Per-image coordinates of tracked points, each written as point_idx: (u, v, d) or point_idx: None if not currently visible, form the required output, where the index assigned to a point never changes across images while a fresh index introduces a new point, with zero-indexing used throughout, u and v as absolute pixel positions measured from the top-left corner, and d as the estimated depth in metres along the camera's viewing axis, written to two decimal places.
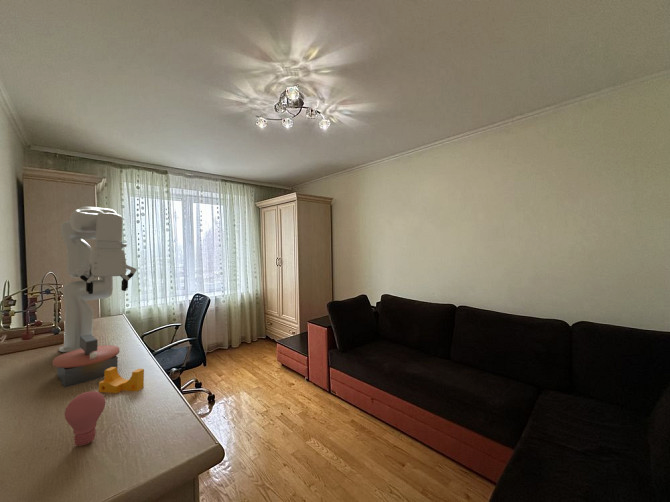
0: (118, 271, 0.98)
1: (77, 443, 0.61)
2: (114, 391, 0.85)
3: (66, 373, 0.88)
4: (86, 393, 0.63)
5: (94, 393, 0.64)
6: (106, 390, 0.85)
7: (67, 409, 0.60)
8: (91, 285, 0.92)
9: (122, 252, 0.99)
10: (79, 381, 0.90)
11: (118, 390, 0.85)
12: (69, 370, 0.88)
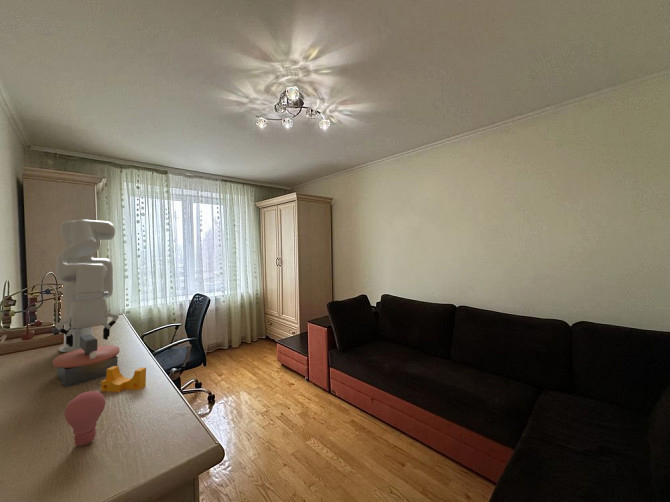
0: (99, 321, 0.98)
1: (77, 443, 0.61)
2: (116, 390, 0.86)
3: (66, 373, 0.88)
4: (86, 393, 0.63)
5: (94, 393, 0.64)
6: (108, 389, 0.86)
7: (67, 409, 0.60)
8: (71, 338, 0.92)
9: (103, 301, 0.99)
10: (79, 381, 0.90)
11: (120, 389, 0.86)
12: (69, 370, 0.88)
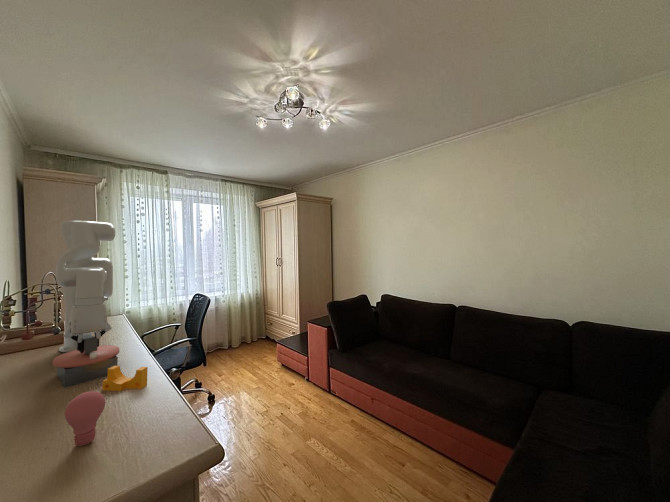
0: (99, 326, 0.98)
1: (77, 443, 0.61)
2: (118, 389, 0.86)
3: (66, 373, 0.88)
4: (86, 393, 0.63)
5: (94, 393, 0.64)
6: (110, 388, 0.86)
7: (67, 409, 0.60)
8: (82, 344, 0.95)
9: (103, 306, 0.99)
10: (79, 381, 0.90)
11: (122, 388, 0.87)
12: (69, 370, 0.88)
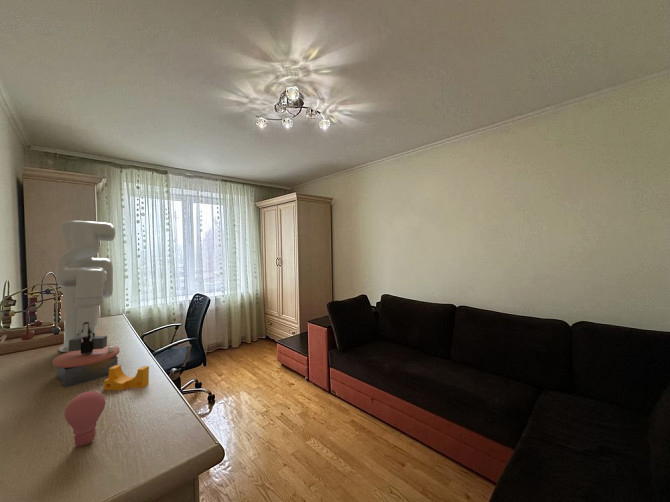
0: (97, 324, 1.01)
1: (77, 443, 0.61)
2: (120, 388, 0.87)
3: (66, 373, 0.88)
4: (86, 393, 0.63)
5: (94, 393, 0.64)
6: (111, 388, 0.87)
7: (67, 409, 0.60)
8: (92, 343, 0.96)
9: None
10: (79, 381, 0.90)
11: (124, 387, 0.87)
12: (69, 370, 0.88)
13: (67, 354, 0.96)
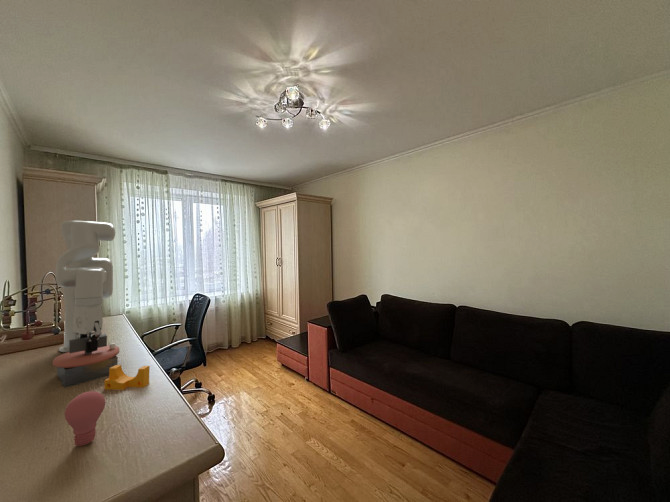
0: None
1: (77, 443, 0.61)
2: (120, 388, 0.87)
3: (66, 373, 0.88)
4: (86, 393, 0.63)
5: (94, 393, 0.64)
6: (112, 387, 0.87)
7: (67, 409, 0.60)
8: None
9: None
10: (79, 381, 0.90)
11: (124, 387, 0.88)
12: (69, 370, 0.88)
13: (61, 358, 0.93)
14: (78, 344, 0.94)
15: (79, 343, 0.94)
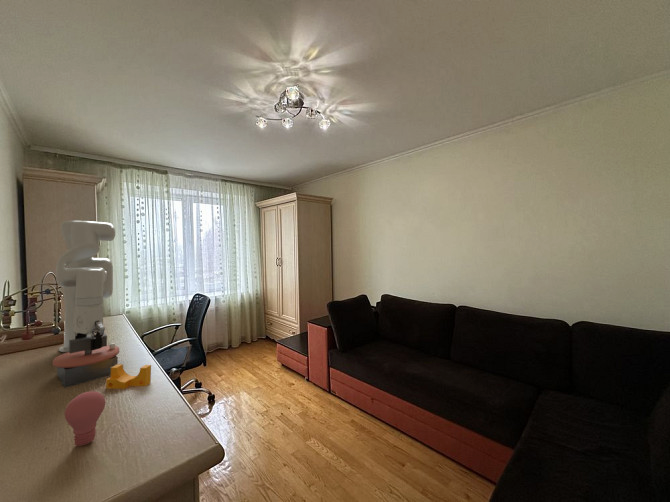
0: None
1: (77, 443, 0.61)
2: (122, 387, 0.88)
3: (66, 373, 0.88)
4: (86, 393, 0.63)
5: (94, 393, 0.64)
6: (114, 386, 0.88)
7: (67, 409, 0.60)
8: None
9: None
10: (79, 381, 0.90)
11: (126, 386, 0.88)
12: (69, 370, 0.88)
13: (61, 358, 0.93)
14: (78, 344, 0.94)
15: (79, 343, 0.94)
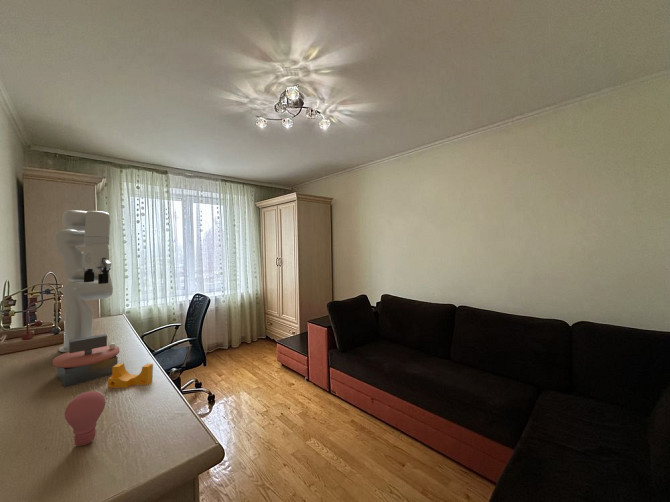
0: None
1: (77, 443, 0.61)
2: (124, 386, 0.88)
3: (66, 373, 0.88)
4: (86, 393, 0.63)
5: (94, 393, 0.64)
6: (116, 385, 0.88)
7: (67, 409, 0.60)
8: None
9: None
10: (79, 381, 0.90)
11: (128, 385, 0.89)
12: (69, 370, 0.88)
13: (61, 358, 0.93)
14: (78, 344, 0.94)
15: (79, 343, 0.94)
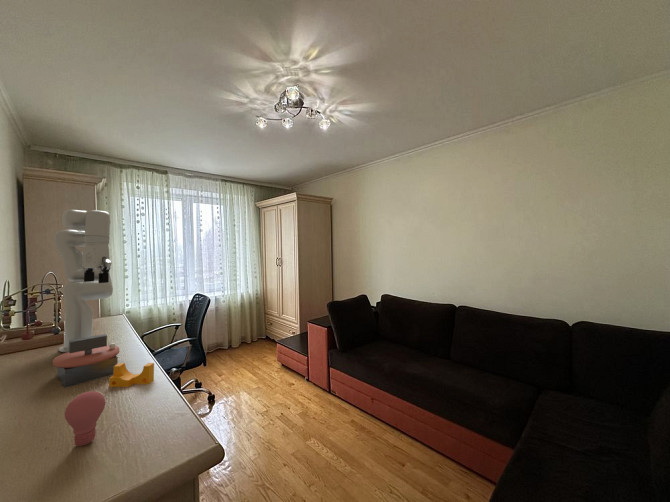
0: None
1: (77, 443, 0.61)
2: (126, 385, 0.89)
3: (66, 373, 0.88)
4: (86, 393, 0.63)
5: (94, 393, 0.64)
6: (117, 385, 0.89)
7: (67, 409, 0.60)
8: None
9: None
10: (79, 381, 0.90)
11: (130, 384, 0.90)
12: (69, 370, 0.88)
13: (61, 358, 0.93)
14: (78, 344, 0.94)
15: (79, 343, 0.94)
